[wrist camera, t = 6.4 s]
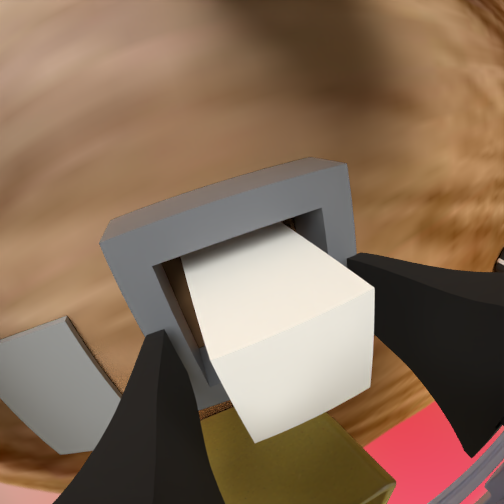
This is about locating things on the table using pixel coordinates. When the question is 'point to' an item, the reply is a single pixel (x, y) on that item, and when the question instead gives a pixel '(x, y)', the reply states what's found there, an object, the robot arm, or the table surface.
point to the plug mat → (57, 386)
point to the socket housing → (217, 230)
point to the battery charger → (500, 263)
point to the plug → (281, 326)
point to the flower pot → (292, 464)
